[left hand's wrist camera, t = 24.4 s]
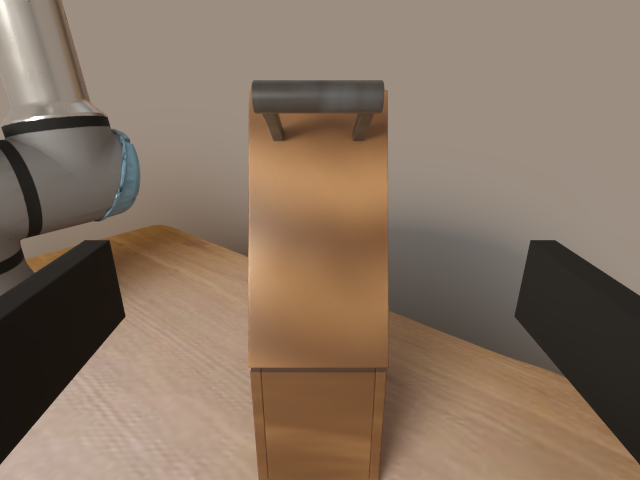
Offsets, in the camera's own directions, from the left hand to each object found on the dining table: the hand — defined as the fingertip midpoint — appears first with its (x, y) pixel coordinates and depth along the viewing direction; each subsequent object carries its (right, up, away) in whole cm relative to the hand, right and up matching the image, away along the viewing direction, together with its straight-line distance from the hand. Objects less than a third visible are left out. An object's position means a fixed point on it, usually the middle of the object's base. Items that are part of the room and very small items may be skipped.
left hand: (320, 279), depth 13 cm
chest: (0, -14, +25) cm, 29 cm away
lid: (0, +2, +14) cm, 14 cm away
